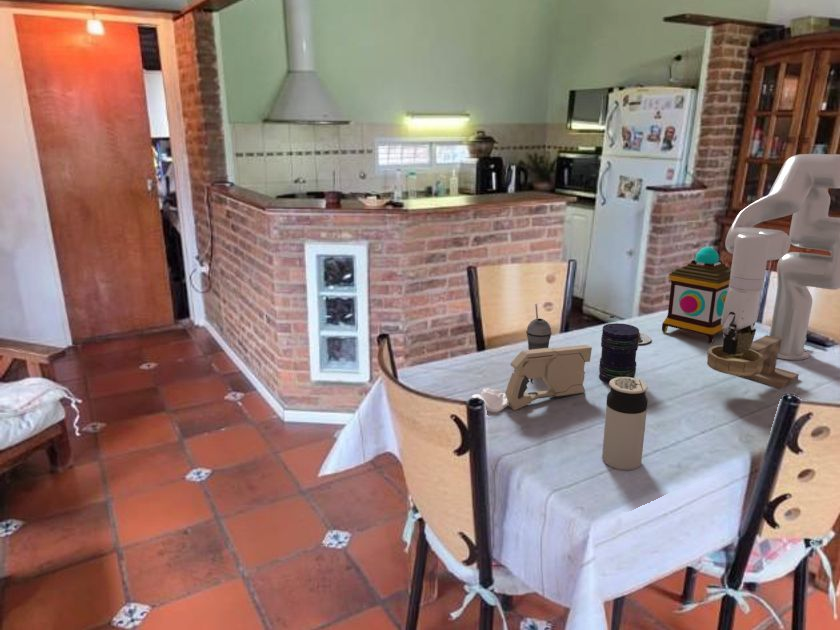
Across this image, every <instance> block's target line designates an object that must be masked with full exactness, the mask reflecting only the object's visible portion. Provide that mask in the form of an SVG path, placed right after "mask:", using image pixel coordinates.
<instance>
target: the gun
mask: <svg viewBox="0 0 840 630" xmlns="http://www.w3.org/2000/svg"><path fill="white" fill-rule="evenodd" d="M592 350H593V347H592V346H589V345H588V344H579V345H571V346H561V347H560V346H559V347H552V348H550V347H548V348H542V349H533V350H528V349H525V350H521V351H520V352H519V354H517V355H516V357H515V358H514V359H513V360H512V361H511V362H510V366H511V367H512V368H513V372H512V373H511V374H510V375H511V376H510V377H509V378H510V379H509V381H508V383H507V387H506V390H505V392H504V394H506V398H507V400H508V401H509V404H508V407H510V408H511V409H512V410H514V411H516V410H518V409H521V408H523V407H526V406H528V405H530V404H532V402H534V401H535V400H539V399H545V398H551V397H552V398H553V397H555V398H560V397H566V396H572V395H574V396H575V395H580V394H583V393H586V390H585V386H584V385H583V384H584V381H585V374H586V372H585V364H586V363H589V362H591V356H592ZM539 378H541V379H542V380H543V382H544V383H545V385H546V387H547V388H548V390H543V391H542V390H541V391H532V392H526V391H527V389H528V384H529V383H530V384H532V385H533V384H534V383H533V380H534V379H539Z"/></svg>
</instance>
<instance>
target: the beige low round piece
mask: <svg viewBox="0 0 840 630" xmlns="http://www.w3.org/2000/svg"><path fill="white" fill-rule="evenodd" d="M638 335H639V342H638V346H639V345H645V344H648V343H650V342H651V341H652V338H651V336H650V335H648V334H645V333H643V332H640V331H639V334H638ZM642 340H644V341H642ZM640 341H642V342H640Z"/></svg>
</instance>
